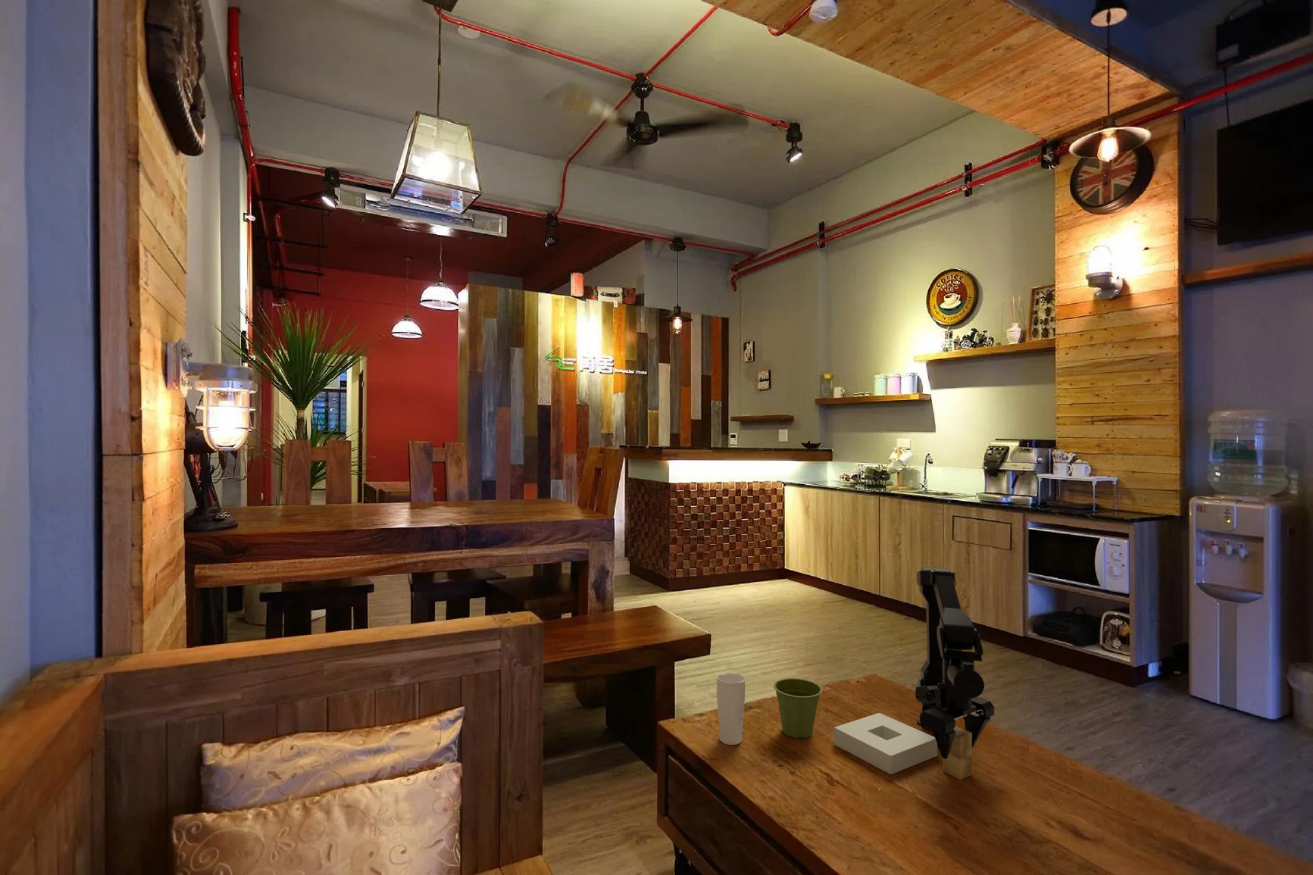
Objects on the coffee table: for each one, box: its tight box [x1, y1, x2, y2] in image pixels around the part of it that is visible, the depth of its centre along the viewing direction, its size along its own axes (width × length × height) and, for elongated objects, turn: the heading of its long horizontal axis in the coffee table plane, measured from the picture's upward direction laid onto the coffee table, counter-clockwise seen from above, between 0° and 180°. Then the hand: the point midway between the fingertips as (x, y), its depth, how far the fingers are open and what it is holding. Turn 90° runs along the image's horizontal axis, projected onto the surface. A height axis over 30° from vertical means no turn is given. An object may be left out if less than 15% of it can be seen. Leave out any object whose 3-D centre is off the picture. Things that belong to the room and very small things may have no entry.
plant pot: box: [773, 677, 823, 739], centre depth 155 cm, size 12×12×11 cm
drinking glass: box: [716, 672, 746, 746], centre depth 150 cm, size 7×7×15 cm
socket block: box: [833, 712, 938, 775], centre depth 146 cm, size 16×16×4 cm
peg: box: [942, 725, 973, 781], centre depth 136 cm, size 4×4×9 cm
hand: (957, 752), depth 136 cm, fingers open, 9 cm apart
